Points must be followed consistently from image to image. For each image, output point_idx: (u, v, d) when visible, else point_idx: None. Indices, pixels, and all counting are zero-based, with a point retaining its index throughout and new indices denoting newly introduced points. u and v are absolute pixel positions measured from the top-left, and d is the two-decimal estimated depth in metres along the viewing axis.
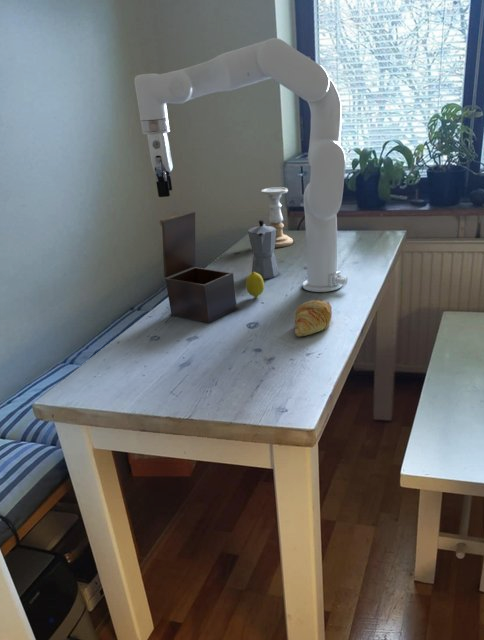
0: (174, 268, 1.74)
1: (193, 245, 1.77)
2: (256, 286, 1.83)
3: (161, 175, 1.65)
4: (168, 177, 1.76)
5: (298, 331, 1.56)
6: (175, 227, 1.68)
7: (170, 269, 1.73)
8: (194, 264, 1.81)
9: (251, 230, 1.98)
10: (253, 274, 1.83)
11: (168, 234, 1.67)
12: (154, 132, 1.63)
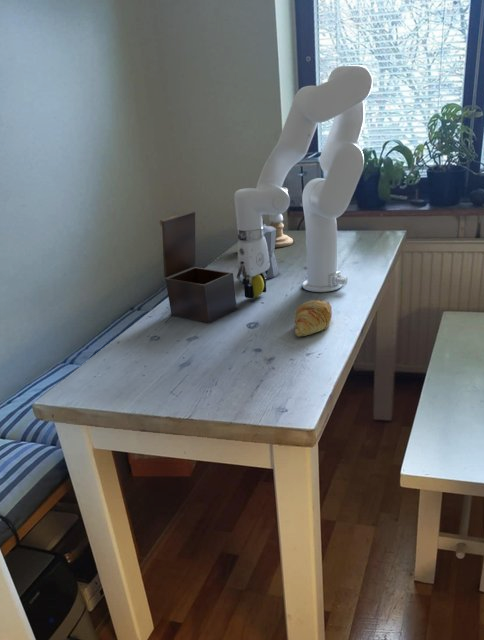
0: (174, 268, 1.74)
1: (193, 245, 1.77)
2: (256, 286, 1.83)
3: (243, 281, 1.80)
4: None
5: (298, 331, 1.56)
6: (175, 227, 1.68)
7: (170, 269, 1.73)
8: (194, 264, 1.81)
9: None
10: None
11: (168, 234, 1.67)
12: (242, 241, 1.75)
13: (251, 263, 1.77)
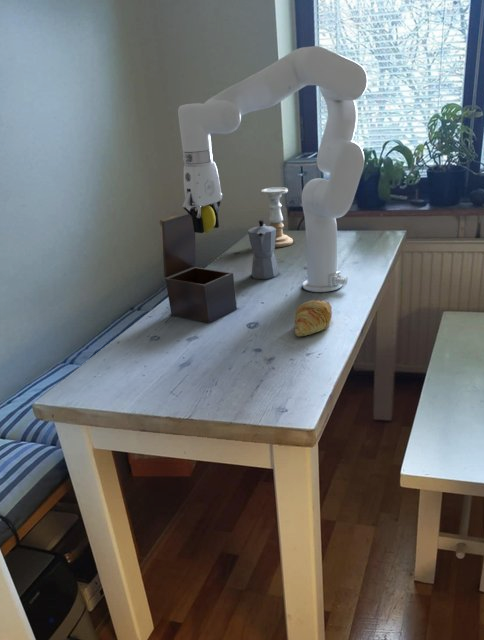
0: (174, 268, 1.74)
1: (193, 245, 1.77)
2: (206, 219, 1.63)
3: (190, 212, 1.60)
4: None
5: (298, 331, 1.56)
6: (175, 227, 1.68)
7: (170, 269, 1.73)
8: (194, 264, 1.81)
9: (251, 230, 1.98)
10: None
11: (168, 234, 1.67)
12: (188, 164, 1.56)
13: (198, 190, 1.58)
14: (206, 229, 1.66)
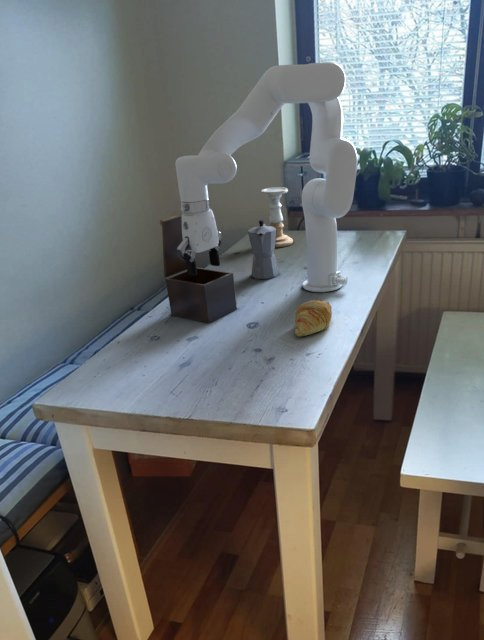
0: (174, 268, 1.74)
1: None
2: None
3: (183, 256, 1.64)
4: (215, 253, 1.72)
5: (298, 331, 1.56)
6: (175, 227, 1.68)
7: (170, 269, 1.73)
8: None
9: (251, 230, 1.98)
10: None
11: (168, 234, 1.67)
12: (186, 213, 1.61)
13: (196, 238, 1.62)
14: None
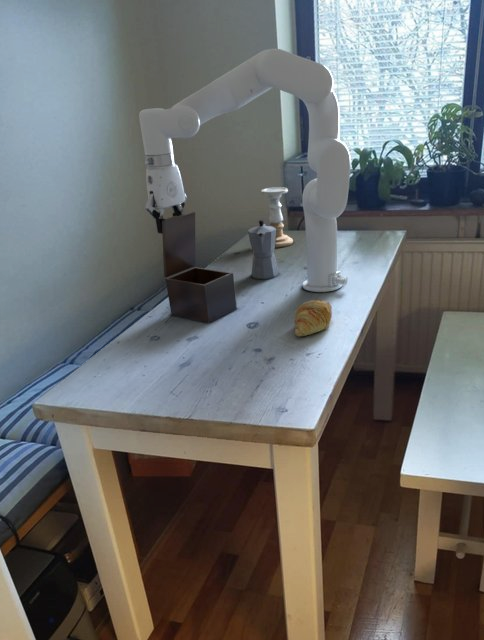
0: (174, 268, 1.74)
1: (193, 245, 1.77)
2: None
3: (153, 213, 1.65)
4: (178, 215, 1.71)
5: (298, 331, 1.56)
6: (175, 227, 1.68)
7: (170, 269, 1.73)
8: (194, 264, 1.81)
9: (251, 230, 1.98)
10: None
11: (168, 234, 1.67)
12: (151, 167, 1.61)
13: (161, 192, 1.62)
14: None
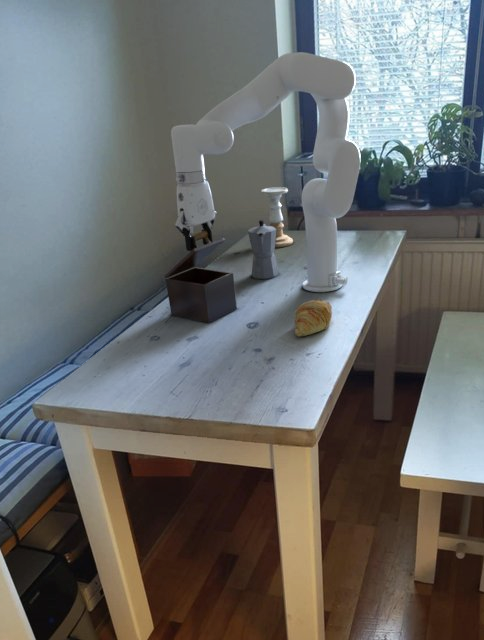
0: (177, 272, 1.74)
1: (204, 257, 1.76)
2: None
3: (182, 231, 1.61)
4: (208, 232, 1.68)
5: (298, 331, 1.56)
6: (201, 251, 1.67)
7: (173, 273, 1.73)
8: None
9: (251, 230, 1.98)
10: None
11: (191, 256, 1.66)
12: (181, 184, 1.57)
13: (191, 210, 1.59)
14: None
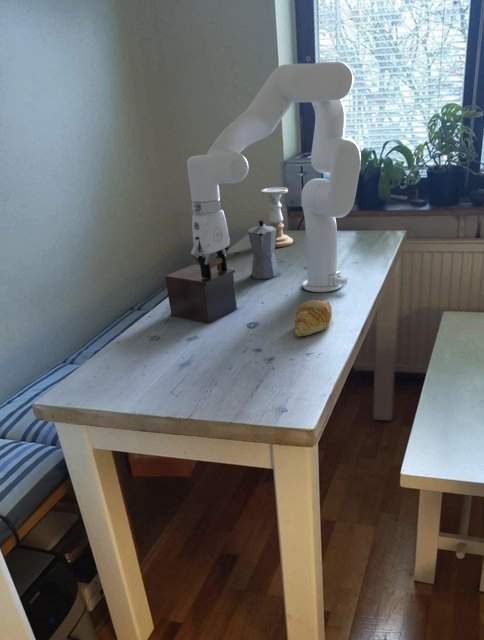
0: None
1: None
2: None
3: (198, 259, 1.63)
4: (222, 259, 1.70)
5: (298, 331, 1.56)
6: None
7: None
8: None
9: (251, 230, 1.98)
10: None
11: None
12: (197, 214, 1.59)
13: (207, 239, 1.60)
14: None
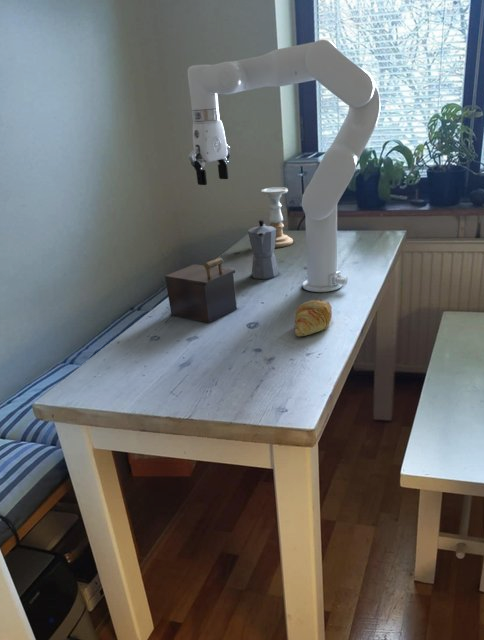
0: None
1: None
2: None
3: (194, 164, 1.72)
4: (224, 166, 1.80)
5: (298, 331, 1.56)
6: None
7: None
8: None
9: (251, 230, 1.98)
10: None
11: None
12: (197, 122, 1.69)
13: (206, 146, 1.70)
14: None
